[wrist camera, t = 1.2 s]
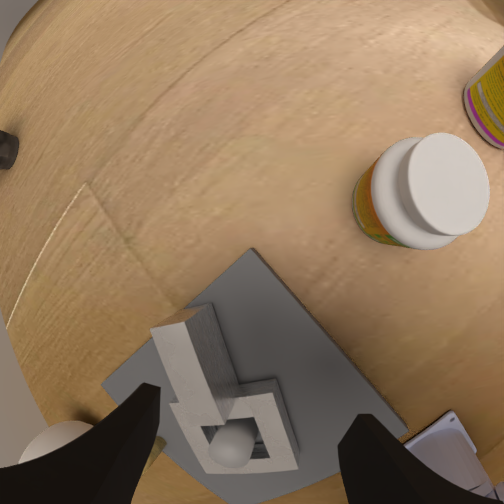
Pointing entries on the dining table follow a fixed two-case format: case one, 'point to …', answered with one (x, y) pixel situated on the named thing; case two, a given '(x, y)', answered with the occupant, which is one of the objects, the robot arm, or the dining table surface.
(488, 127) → the supplement bottle
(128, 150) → the dining table surface
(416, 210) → the supplement bottle
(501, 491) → the robot arm
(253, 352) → the base
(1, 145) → the beverage cup
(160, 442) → the dowel
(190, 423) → the square nut with handle
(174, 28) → the dining table surface
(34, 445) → the white squeeze bulb
